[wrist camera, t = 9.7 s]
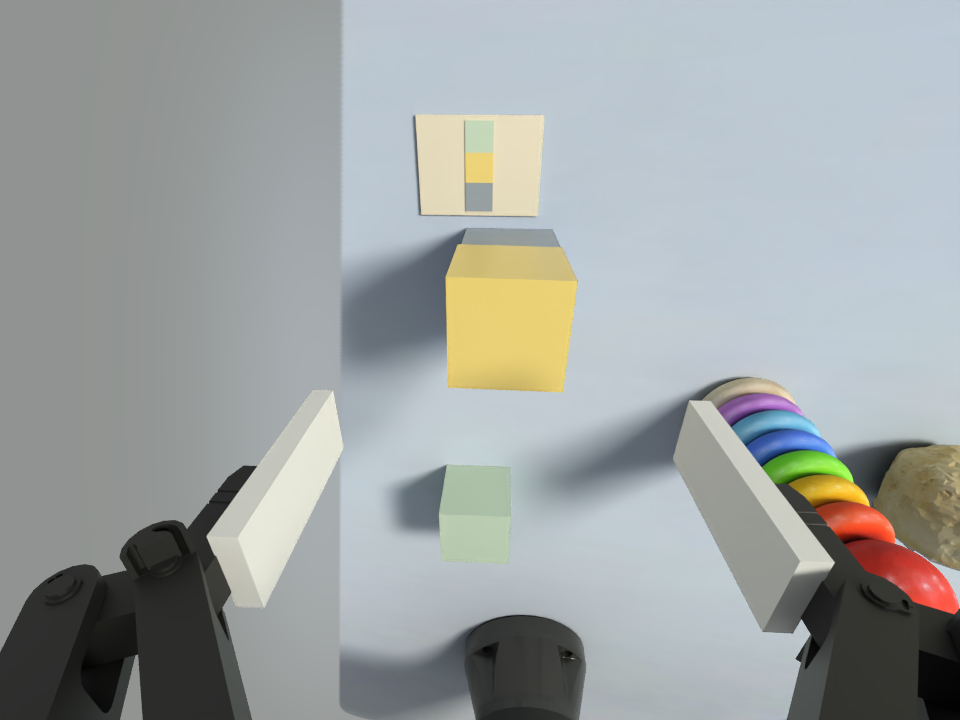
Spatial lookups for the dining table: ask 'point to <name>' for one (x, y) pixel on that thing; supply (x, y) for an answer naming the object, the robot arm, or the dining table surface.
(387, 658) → the dining table surface
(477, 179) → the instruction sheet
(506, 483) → the sage brick
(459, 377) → the mustard brick
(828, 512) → the stacking toy
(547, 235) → the slate brick
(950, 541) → the tan rough rounded lump
